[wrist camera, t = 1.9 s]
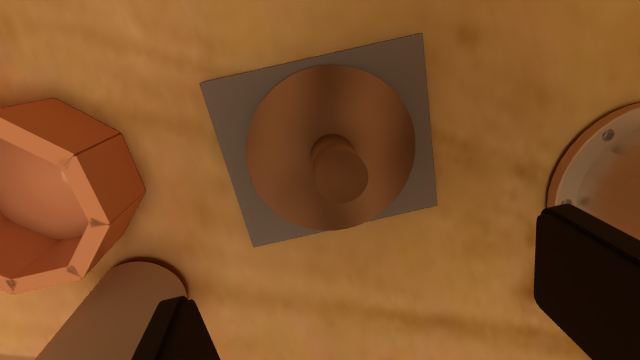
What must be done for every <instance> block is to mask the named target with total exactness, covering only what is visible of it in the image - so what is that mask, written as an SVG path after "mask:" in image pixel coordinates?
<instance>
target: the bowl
mask: <svg viewBox="0 0 640 360" xmlns="http://www.w3.org/2000/svg"><path fill="white" fill-rule="evenodd" d="M119 133H120V132H118V131H116V130H114V129H113V128H111V127H109V126H107V125H105V124H103V123H101V122H99V121H97V120H96V119H94V118H92V117H90V116H88V115H86V114H84V113H82V112H80V111H79V110H77V109H75V108H73V107H71V106H69V105H67V104H65V103H63V102H62V101H60V100H58V99H56V98H55V99H54V98H51V99H46V100H40V101H35V102H30V103H25V104H20V105H14V106H9V107H4V108H0V290H1V291H4V292H7V293H10V294H13V293H14V295H15V294H20V293H24V292H28V291H33V290H37V289H42V288H46V287H50V286H55V285H59V284H63V283H68V282H72V281H77V280H81V279H82V278H84V277H85V276H86V275H87V274H88V272H89V271H90V270H91V269H92V268H93V267H94V266H95V265H96V264H97V263H98V261H99V260H100V259H101V258H102V257H103V256H104V255H105V254H106V253H107V252H108V251H109V249H110V248H111V247H112V246H113V245H114V244H115V243H116V242H117V241H118V240H119V238H120V237H121V236H122V235H123V233H124V232H125V230H126V228H127V226H128V224H129V222H130V220H131V218H132V216H133V214H134V212H135V211H136V209H137V207H138V205H139V203H140V201H141V199H142V197H143V195H144V193H145V190H146V189H145V187H144V184H143V182H142V180H141V178H140V175H139V173H138V171H137V168H136V166H135V164H134V162H133V159H132V157H131V155H130V152H129V150H128V148H127V145H126V143H125V141H124V139H123V136H122V134H119Z"/></svg>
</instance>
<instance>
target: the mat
mask: <svg viewBox="0 0 640 360" xmlns="http://www.w3.org/2000/svg"><path fill="white" fill-rule="evenodd" d="M319 65H343V66H349V67H353V68H357V69H360V70H363V71H366V72H368V73H370V74H373V75H374V76H376V77H377V78H379V79H381V80H382V81H384V82H385V83H386V84H387V85H388V86H390V87H391V88H392V89H393V90H394V91H395V93H396V94H397V95H398V96H399V97H400V99H401V100H402V102H403V103H404V105H405V106H406V108H407V110H408V113H409V115H410V117H411V120H412V123H413V127H414V133H415V146H416V147H415V158H414V162H413V167H412V170H411V173H410V175H409V178H408V180H407V182H406V184H405V186H404V188H403V189H402V191H401V192H400V194H399V195H398V196H397V198H396V199H395V200H394V201H393V202H392V203H391V204H390V205H389V206H388V207H387V208H386V209H385V210H384V211H382V212H381V213H380V214H378V215H377V216H375V217H374V218H372V219H370V220H368V221H372V220H376V219H381V218H385V217H389V216H394V215H398V214H402V213H407V212H411V211H416V210H420V209H424V208H429V207H433V206H437V195H436V183H435V172H434V161H433V149H432V138H431V127H430V115H429V104H428V93H427V81H426V70H425V59H424V47H423V36H422V33H420V34H415V35H410V36H406V37H402V38H397V39H393V40H388V41H384V42H379V43H375V44H370V45H366V46H361V47H357V48H353V49H348V50H344V51H339V52H335V53H330V54H326V55H321V56H317V57H313V58H308V59H304V60H299V61H295V62H290V63H286V64H281V65H277V66H272V67H268V68H264V69H259V70H255V71H250V72H246V73H241V74H237V75H232V76H228V77H224V78H219V79H215V80H210V81H206V82H201V83H199V84H200V87H201V90H202V93H203V96H204V99H205V102H206V105H207V108H208V111H209V114H210V117H211V120H212V123H213V126H214V129H215V132H216V135H217V138H218V141H219V144H220V147H221V150H222V153H223V156H224V159H225V162H226V166H227V169H228V172H229V175H230V178H231V181H232V184H233V187H234V190H235V193H236V196H237V199H238V202H239V205H240V208H241V211H242V214H243V217H244V220H245V223H246V226H247V229H248V232H249V235H250V238H251V241H252V244H253V247H258V246H262V245H267V244H271V243H275V242H280V241H284V240H288V239H293V238H297V237H302V236H306V235H310V234H315V233H319V232H324V231H325V230H314V229H309V228H305V227H302V226H298V225H296V224H293V223H291V222H289V221H287V220H285V219H284V218H282V217H281V216H279V215H278V214H276V213H275V212H274V211H273V210H271V209H270V208H269V207H268V206H267V204H266V203H265V202H264V201H263V200H262V199H261V197H260V196H259V194H258V193H257V191H256V189H255V188H254V186H253V184H252V181H251V179H250V176H249V173H248V169H247V164H246V155H245V149H246V138H247V133H248V129H249V126H250V123H251V120H252V118H253V116H254V114H255V112H256V110H257V108H258V106H259V105H260V103H261V102H262V100H263V99H264V97H265V96H266V95H267V94H268V93H269V92H270V90H271V89H272V88H273V87H275V86H276V85H277V84H278V83H279V82H280V81H282V80H283V79H285V78H287V77H288V76H290V75H291V74H294V73H296V72H298V71H300V70H303V69H306V68H309V67H313V66H319ZM366 222H367V221H366Z"/></svg>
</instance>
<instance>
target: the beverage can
mask: <svg viewBox="0 0 640 360" xmlns="http://www.w3.org/2000/svg"><path fill="white" fill-rule="evenodd" d="M179 296H185V297H186V298H187V294H186V290H185V287H184V285H183V284H182V282H181V281H180V279H179V278H178V277H177V276H176V275H175V274H174V273H172V272H171V271H169V270H168V269H166V268H164V267H162V266H160V265H157V264H154V263H149V262H140V261H138V262H128V263H124V264H121V265H118V266H116V267H114V268H113V269H111V270H110V271H108V272H107V273H106V274H105V275H104V276H103V278H102V279H101V280H100V281H99V282H98V284H97V285H96V286H95V287H94V289H93V290H92V291H91V292H90V293H89V295H88V296H87V297H86V298H85V299H84V301H83V302H82V303H81V304H80V306H79V307H78V308H77V309H76V310H75V312H74V313H73V314H72V315H71V316H70V318H69V319H68V320H67V321H66V322H65V324H64V325H63V326H62V327H61V329H60V330H59V331H58V332H57V333H56V335H55V336H54V337H53V338H52V339H51V341H50V342H49V343H48V344H47V346H46V347H45V348H44V349H43V350H42V352H41V353H40V354H39V355H38V356H37V358H36V359H35V360H131V358H132V356H133V354H134V352H135V350H136V348H137V346H138V344H139V342H140V340H141V338H142V336H143V334H144V332H145V330H146V328H147V326H148V324H149V322H150V320H151V318H152V316H153V314H154V312H155V309H156V307H157V305H158V304H159V302H160V301H162V300H166V299H170V298H175V297H179Z"/></svg>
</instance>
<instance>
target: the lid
mask: <svg viewBox="0 0 640 360" xmlns="http://www.w3.org/2000/svg"><path fill="white" fill-rule="evenodd" d="M415 147H416V146H415V133H414V127H413V123H412V120H411V117H410V115H409V113H408V110H407V108H406V106H405V105H404V103H403V102H402V100H401V99H400V97H399V96H398V95H397V94H396V93H395V91H394V90H393V89H392V88H391V87H390V86H388V85H387V84H386V83H385V82H384V81H382V80H381V79H379V78H377V77H376V76H374V75H373V74H370V73H368V72H366V71H363V70H360V69H357V68H353V67H349V66H343V65H319V66H313V67H309V68H306V69H303V70H300V71H298V72H296V73H294V74H291V75H290V76H288V77H287V78H285V79H283V80H282V81H280V82H279V83H278V84H277V85H276V86H275V87H273V88H272V89H271V90H270V92H269V93H268V94H267V95H266V96H265V97H264V99H263V100H262V102H261V103H260V105H259V106H258V108H257V110H256V112H255V114H254V116H253V118H252V120H251V123H250V126H249V129H248V133H247V138H246V149H245V155H246V164H247V169H248V173H249V176H250V179H251V181H252V184H253V186H254V188H255V189H256V191H257V193H258V194H259V196H260V197H261V199H262V200H263V201H264V202H265V203H266V204H267V206H268V207H269V208H270V209H271V210H273V211H274V212H275V213H276V214H278V215H279V216H281V217H282V218H284V219H285V220H287V221H289V222H291V223H293V224H296V225H298V226H302V227H305V228H309V229H314V230H325V231H329V230H340V229H346V228H350V227H354V226H357V225H359V224H362V223H364V222H366V221H368V220H370V219H372V218H374V217H375V216H377V215H378V214H380V213H381V212H382V211H384V210H385V209H386V208H387V207H388V206H389V205H390V204H391V203H392V202H393V201H394V200H395V199H396V198H397V196H398V195H399V194H400V192H401V191H402V189H403V188H404V186H405V184H406V182H407V180H408V178H409V175H410V173H411V170H412V167H413V162H414V158H415Z"/></svg>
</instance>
